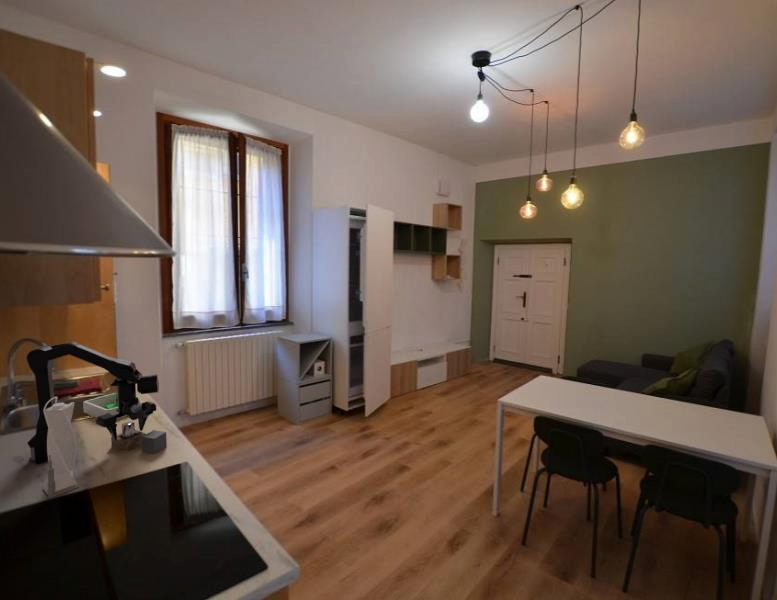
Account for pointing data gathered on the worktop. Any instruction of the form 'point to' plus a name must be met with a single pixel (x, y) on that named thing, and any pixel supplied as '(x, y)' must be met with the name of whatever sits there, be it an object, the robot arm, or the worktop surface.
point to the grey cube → (154, 442)
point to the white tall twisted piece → (60, 448)
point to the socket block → (127, 442)
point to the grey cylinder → (128, 430)
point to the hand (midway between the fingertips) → (128, 435)
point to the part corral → (100, 405)
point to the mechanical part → (113, 404)
